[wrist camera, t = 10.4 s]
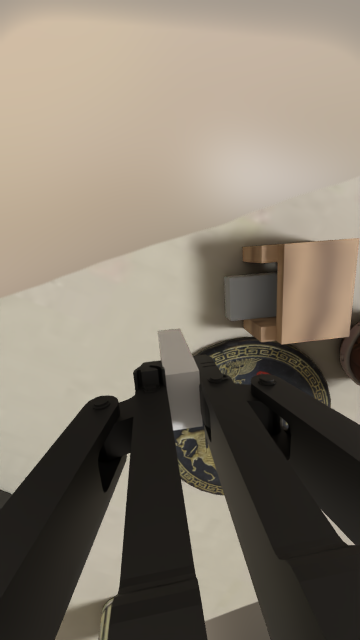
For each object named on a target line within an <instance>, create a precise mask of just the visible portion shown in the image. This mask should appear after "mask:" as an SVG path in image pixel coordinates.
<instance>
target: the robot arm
mask: <svg viewBox="0 0 360 640" xmlns="http://www.w3.org/2000/svg"><path fill="white" fill-rule="evenodd" d="M158 338H159V348H160V357H161V361H153V362H145V363H143V364H142V365H141V366H140V367H138V368H137V369H136V370H134V372H133V375H134V383H135V390H136V392H135V395H134V396H133V397H132V398H130V399H128V400H125V401H123V402H120V403H119V402H118V399H117V398H116V397H114V396H99V397H96V398H94V399H92V400H91V401H89V402H88V403H87V404H86V405H85V406H84V407H83V408H82V409H81V411H80V412H79V413H78V414H77V416H76V417H75V418H74V419H73V421H72V422H71V423H70V424H69V425H68V427H67V428H66V429H65V430H64V432H63V433H62V434H61V435H60V437H59V438H58V439H57V440H56V441H55V443H54V444H53V445H52V446H51V448H50V449H49V450H48V451H47V453H46V454H45V455H44V456H43V458H42V459H41V460H40V461H39V462H38V464H37V465H36V466H35V467H34V469H33V470H32V471H31V472H30V474H29V475H28V476H27V477H26V478H25V480H24V481H23V482H22V483H21V485H20V486H19V487H18V488H17V490H16V491H15V492H14V493H13V495H11V494H9V493H7V492H4V491H0V640H55V637H56V635H57V632H58V630H59V627H60V625H61V622H62V620H63V617H64V615H65V612H66V610H67V607H68V605H69V602H70V600H71V597H72V595H73V592H74V590H75V587H76V585H77V582H78V580H79V577H80V575H81V572H82V570H83V567H84V565H85V562H86V560H87V557H88V555H89V552H90V550H91V547H92V545H93V542H94V540H95V537H96V535H97V532H98V530H99V527H100V525H101V522H102V520H103V517H104V515H105V512H106V510H107V507H108V505H109V502H110V500H111V497H112V495H113V492H114V490H115V487H116V485H117V482H118V480H119V477H120V475H121V472H122V470H123V467H124V465H125V462H126V458H127V454H128V453H130V465H129V478H128V490H127V502H126V515H125V527H124V539H123V552H122V564H121V576H120V586H119V591H118V594H117V595H116V596H115V597H114V599H113V603H112V606H111V613H110V621H109V629H108V639H107V640H207V634H206V628H205V621H204V615H203V609H202V602H201V597H200V591H199V585H198V580H197V578H196V574H195V568H194V562H193V556H192V549H191V543H190V536H189V530H188V523H187V517H186V510H185V503H184V497H183V490H182V484H181V477H180V471H179V464H178V458H177V451H176V445H175V438H174V432H173V431H174V430H180V429H187V428H194V427H201V426H203V423H202V418H203V421H204V428H205V445H206V448H208V445H209V448H210V451H211V454H212V458H213V461H214V464H215V467H216V470H217V473H218V476H219V479H220V483H221V486H222V489H223V492H224V495H225V498H226V501H227V504H228V508H229V511H230V514H231V517H232V520H233V523H234V526H235V529H236V533H237V536H238V539H239V542H240V545H241V548H242V551H243V555H244V558H245V561H246V564H247V567H248V570H249V573H250V576H251V580H252V583H253V586H254V589H255V592H256V595H257V598H258V601H259V605H260V607H261V611H262V614H263V617H264V620H265V623H266V626H267V630H268V632H269V636H270V639H271V640H360V425H359V424H357V423H356V422H354V421H352V420H351V419H349V418H347V417H345V416H344V415H342V414H340V413H339V412H337V411H335V410H334V409H332V408H330V407H328V406H327V405H325V404H323V403H322V402H320V401H318V400H317V399H315V398H313V397H311V396H310V395H308V394H306V393H305V392H303V391H301V390H300V389H298V388H296V387H295V386H293V385H291V384H289V383H288V382H286V381H284V380H283V379H281V378H279V377H277V376H274V375H270V374H260V375H256V376H253V377H252V378H251V385H247V384H236V383H234V381H233V380H232V378H231V377H230V376H228V375H226V374H223V373H221V371H220V370H219V368H218V367H217V366H216V364H215V362H214V360H213V359H212V357H210V356H208V355H206V354H205V355H197V356H192V354H191V352H190V349H189V347H188V345H187V343H186V340H185V338H184V336H183V334H182V332H181V329H170V330H161V331H158ZM283 419H284V420H285V421H286V422H287V424H288V425H289V426H288V428H286V427H285V426H284V425H283ZM321 510H322V511H323V512H324V513H325V514H326V515H327V516H328V517H329V518H330V519H331V520H332V521H333V522H334V523H335V524H336V525H337V526H338V527H339V528H340V529H341V531H342V532H343V533H344V534H345V535H346V536H347V537H348V538H349V539H350V540H351V541H352V542H353V543H354V544H355V545H347V544H346V543H345V542H343V541H342V539H341V538H340V537H339V536H338V534H337V533H336V531H335V530H334V528H333V527H332V525H331V524H330V522H329V521H328V520H327V518H326V517H325V515H324V514H323V512H322V511H321Z"/></svg>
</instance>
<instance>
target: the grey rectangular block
mask: <svg viewBox="0 0 360 640" xmlns="http://www.w3.org/2000/svg"><path fill="white" fill-rule="evenodd" d="M277 273H278V272H271V273H259V274H248V275H236V276H225V277H224V285H225V317H226V318H228V319H229V320H230V321H237V320H246V319H256V318H266V317H275V316H276V315H277Z"/></svg>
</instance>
